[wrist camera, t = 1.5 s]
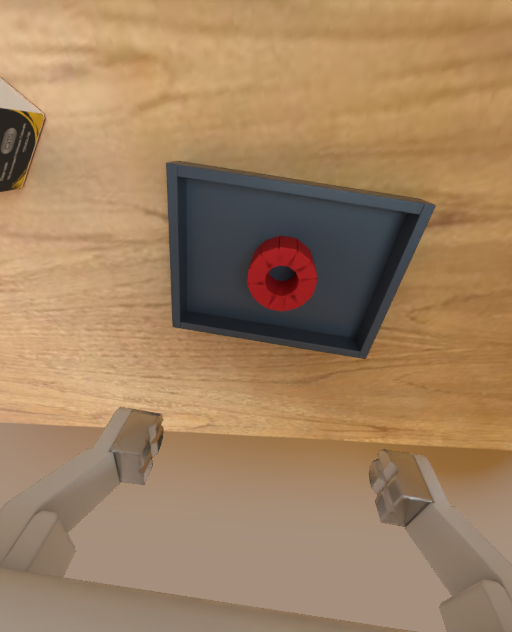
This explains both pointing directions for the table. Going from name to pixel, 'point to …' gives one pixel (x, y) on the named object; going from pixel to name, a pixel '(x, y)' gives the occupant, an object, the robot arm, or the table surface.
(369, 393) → the table surface
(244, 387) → the table surface
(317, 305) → the tray
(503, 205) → the table surface
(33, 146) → the medicine bottle
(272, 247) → the ring
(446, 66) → the table surface
